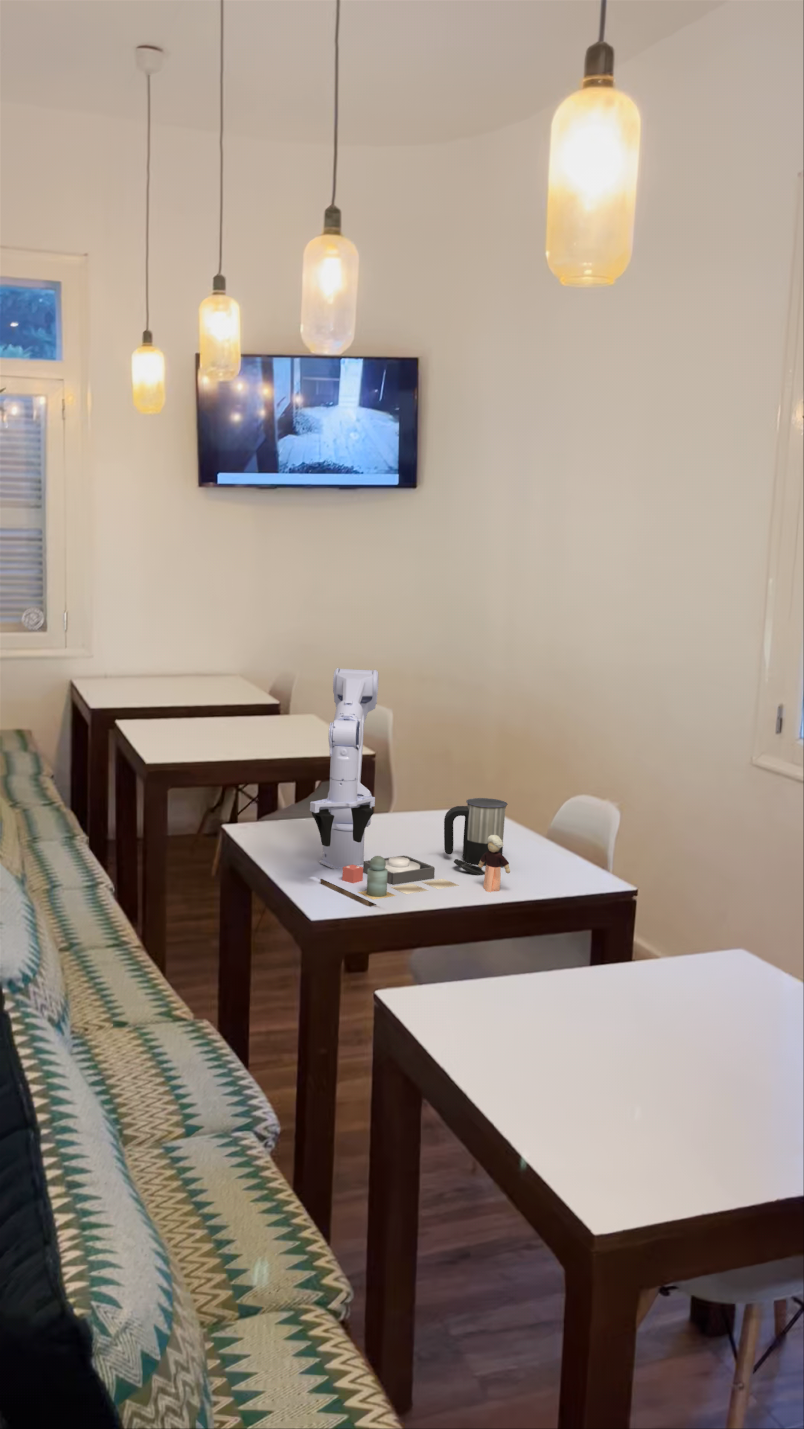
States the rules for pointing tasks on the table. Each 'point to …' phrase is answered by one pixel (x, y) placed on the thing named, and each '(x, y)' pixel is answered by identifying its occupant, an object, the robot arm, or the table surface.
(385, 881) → the pawn
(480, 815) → the milk frother
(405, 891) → the flat thin brownish pieces
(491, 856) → the grandmother figurine
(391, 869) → the white stepped disc
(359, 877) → the die
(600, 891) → the table surface
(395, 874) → the dark grey square tray
